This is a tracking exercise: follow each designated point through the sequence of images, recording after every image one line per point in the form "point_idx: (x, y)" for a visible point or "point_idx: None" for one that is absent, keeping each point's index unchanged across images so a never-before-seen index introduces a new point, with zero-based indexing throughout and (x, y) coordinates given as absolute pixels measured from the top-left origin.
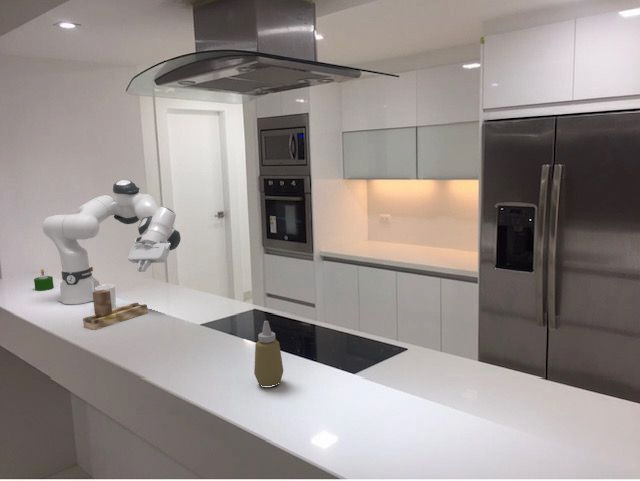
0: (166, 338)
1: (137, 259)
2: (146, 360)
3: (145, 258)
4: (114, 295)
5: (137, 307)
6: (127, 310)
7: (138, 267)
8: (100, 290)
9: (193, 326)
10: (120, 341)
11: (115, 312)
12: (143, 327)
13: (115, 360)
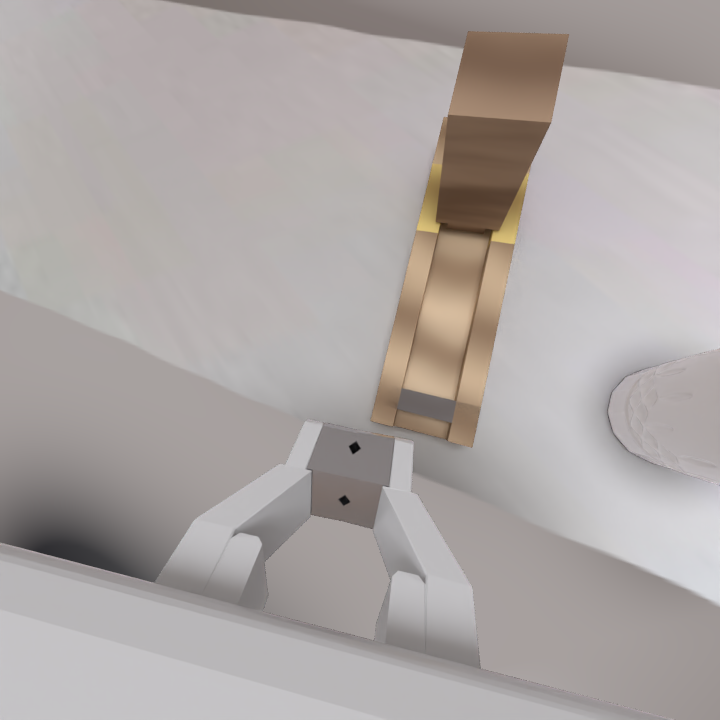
0: (120, 183)
1: (562, 691)
2: (90, 39)
3: (186, 603)
4: (669, 436)
5: (386, 359)
6: (402, 298)
7: (407, 468)
8: (545, 93)
9: (87, 312)
10: (250, 106)
11: (478, 291)
12: (262, 244)
13: (167, 4)
